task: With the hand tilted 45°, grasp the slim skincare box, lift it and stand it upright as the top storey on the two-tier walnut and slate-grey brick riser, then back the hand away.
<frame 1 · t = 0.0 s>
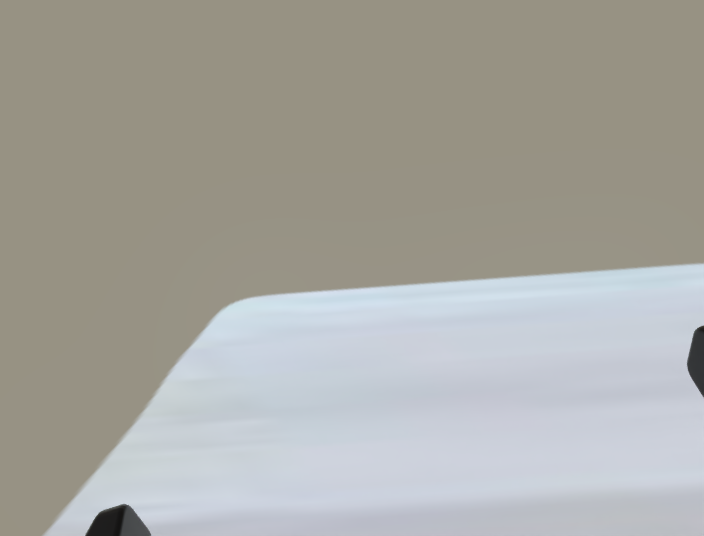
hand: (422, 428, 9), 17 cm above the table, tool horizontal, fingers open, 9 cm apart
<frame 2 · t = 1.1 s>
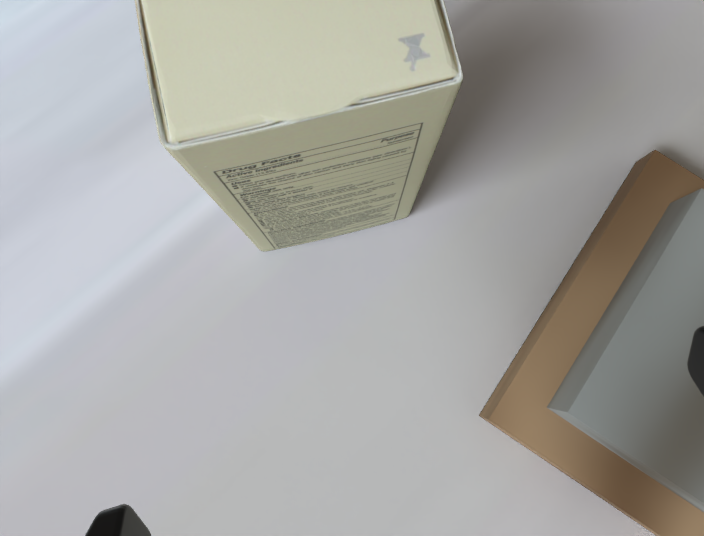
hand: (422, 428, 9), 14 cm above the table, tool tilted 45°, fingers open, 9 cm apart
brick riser: (693, 371, 23), on the table
skincare box: (319, 187, 24), on the table
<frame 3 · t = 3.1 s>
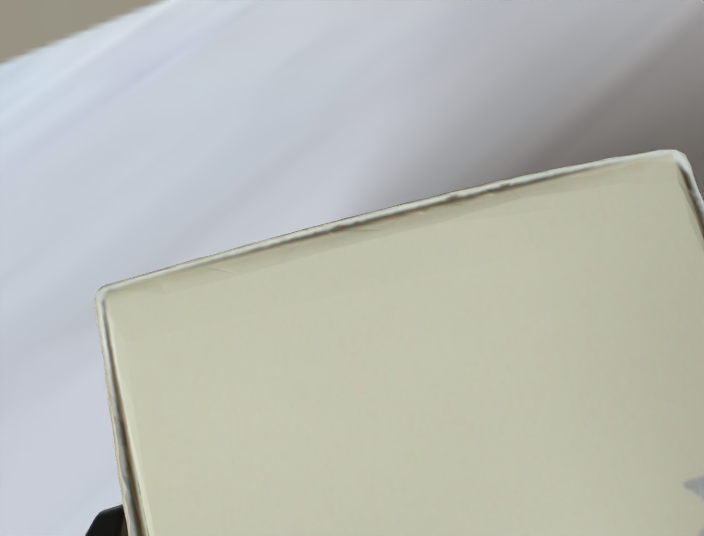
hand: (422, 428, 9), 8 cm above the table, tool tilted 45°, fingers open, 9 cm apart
skincare box: (377, 377, 18), on the table
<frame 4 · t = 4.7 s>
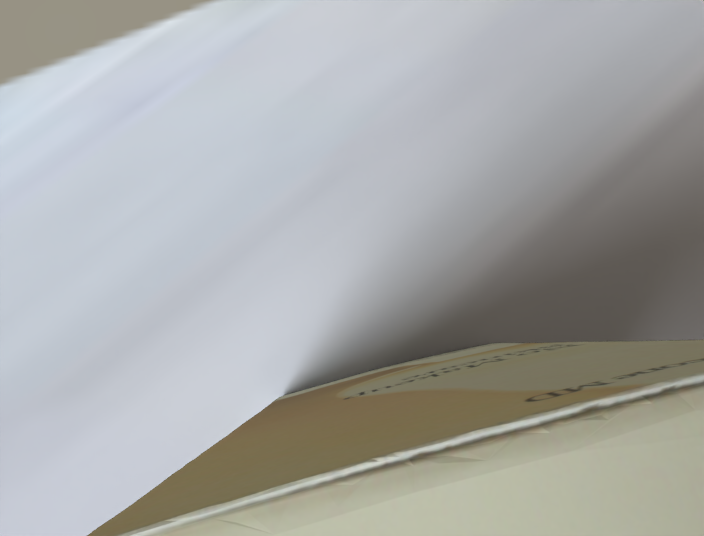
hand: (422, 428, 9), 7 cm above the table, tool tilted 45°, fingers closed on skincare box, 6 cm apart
skincare box: (401, 449, 16), on the table, touching gripper
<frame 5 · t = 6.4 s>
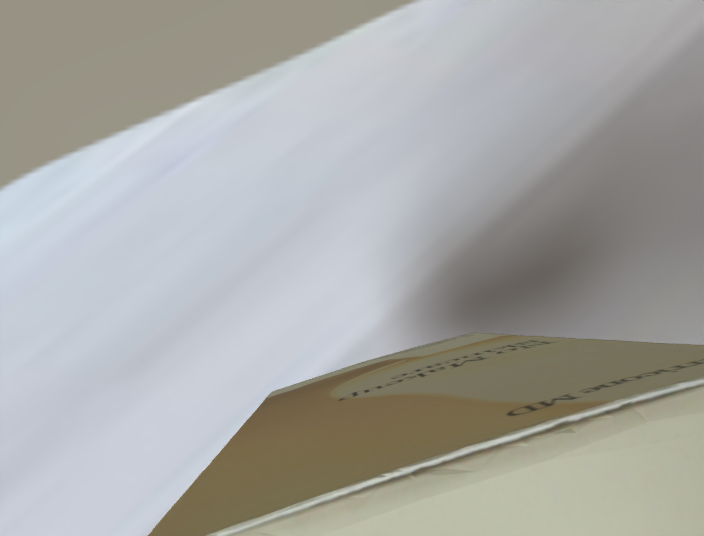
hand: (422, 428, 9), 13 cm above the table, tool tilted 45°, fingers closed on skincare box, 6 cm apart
skincare box: (389, 436, 17), point 6 cm above the table, touching gripper
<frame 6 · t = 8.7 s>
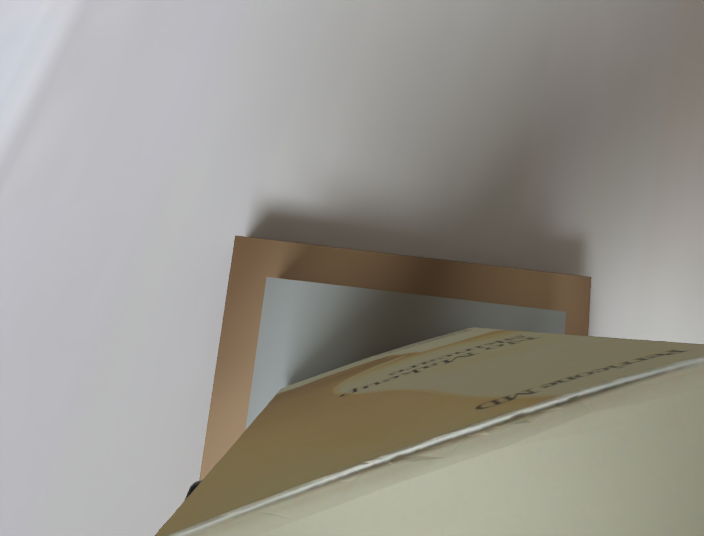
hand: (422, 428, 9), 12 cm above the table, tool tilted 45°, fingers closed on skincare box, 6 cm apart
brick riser: (390, 434, 21), on the table
skincare box: (394, 427, 18), point 3 cm above the table, touching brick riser, gripper
when the fingers open (12 cm above the table, at t = 9.5 s): skincare box stays where it is, resting on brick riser.
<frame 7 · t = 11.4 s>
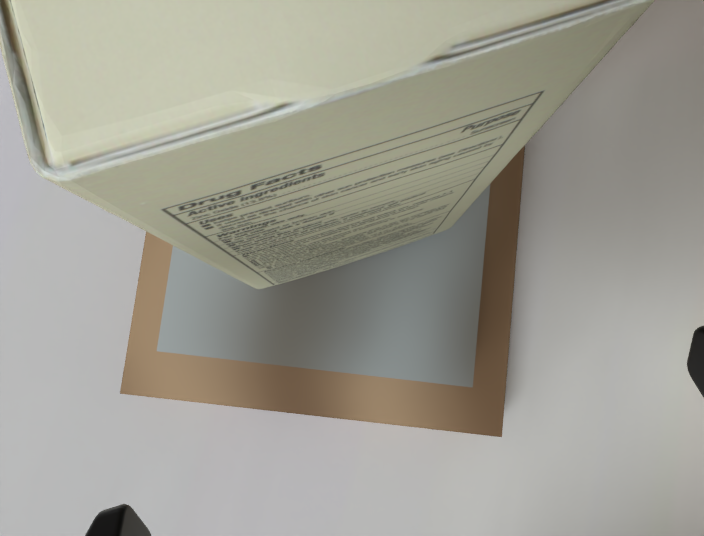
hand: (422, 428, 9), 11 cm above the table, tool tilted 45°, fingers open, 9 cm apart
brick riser: (334, 236, 21), on the table
skincare box: (327, 196, 18), point 3 cm above the table, touching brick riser
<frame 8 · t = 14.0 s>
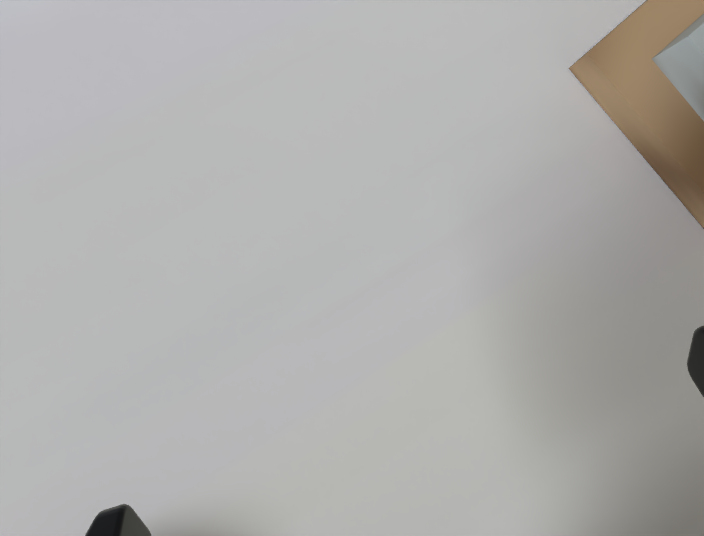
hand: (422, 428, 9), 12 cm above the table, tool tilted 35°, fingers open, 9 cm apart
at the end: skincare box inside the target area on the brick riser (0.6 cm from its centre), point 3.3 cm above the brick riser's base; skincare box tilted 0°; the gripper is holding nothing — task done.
